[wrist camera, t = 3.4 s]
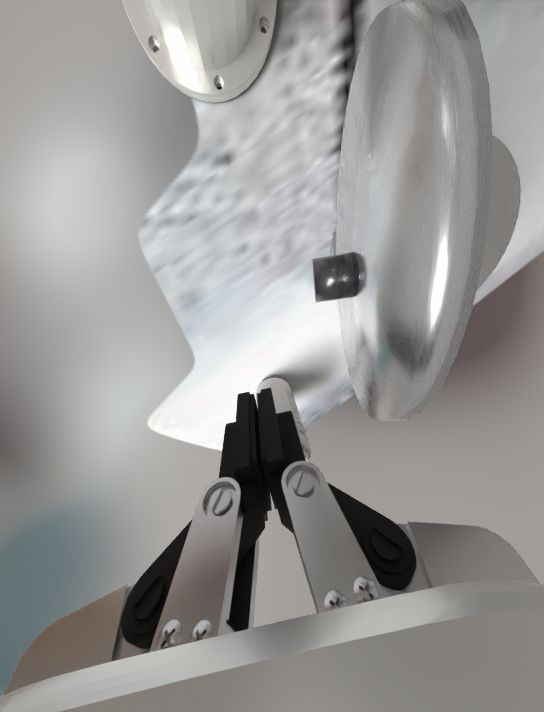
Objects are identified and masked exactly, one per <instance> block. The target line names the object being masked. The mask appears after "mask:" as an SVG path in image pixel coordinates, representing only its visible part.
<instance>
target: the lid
mask: <svg viewBox="0 0 544 712" xmlns="http://www.w3.org/2000/svg"><path fill="white" fill-rule="evenodd" d="M491 167H492V127H491V112H490V97H489V83H488V78H487V74H486V69H485V64H484V59H483V54H482V50H481V45H480V40H479V36H478V34H477V31H476V29H475V27H474V25H473V23H472V20H471V18H470V16H469V14H468V11H467V9H466V7H465V5H464V4H463V3H462V2H461V1H460V0H402V1H400V2H397V3H395V4H392V5H390V6H388V7H387V8H385V9H384V10H382V11H381V12H379V13H378V15H377V16H376V18H375V19H374V21H373V22H372V24H371V26H370V27H369V30H368V32H367V34H366V37H365V39H364V41H363V44H362V47H361V50H360V53H359V56H358V59H357V63H356V66H355V70H354V75H353V79H352V83H351V87H350V93H349V98H348V103H347V109H346V115H345V121H344V128H343V136H342V144H341V153H340V163H339V176H338V191H337V213H336V255H334V256H328V257H323V258H317V259H313V276H314V289H315V299H316V302H322V301H330V300H337V299H338V304H339V315H340V324H341V332H342V339H343V346H344V352H345V357H346V362H347V366H348V371H349V375H350V378H351V382H352V385H353V388H354V391H355V394H356V396H357V398H358V401H359V403H360V404H361V406H362V408H363V410H364V411H365V412H366V414H368V416H370V417H371V418H372V419H375V420H404V419H409V418H411V417H413V416H415V415H416V414H419V413H420V412H421V411H422V410H423V409H424V408H425V407H426V406H427V405H428V404H429V403H430V402H431V401H432V400H433V398H434V397H435V395H436V394H437V392H438V391H439V389H440V388H441V386H442V385H443V383H444V381H445V379H446V377H447V375H448V373H449V371H450V368H451V366H452V364H453V362H454V360H455V358H456V355H457V354H458V351H459V348H460V345H461V342H462V339H463V336H464V333H465V330H466V327H467V324H468V321H469V318H470V315H471V310H472V307H473V302H474V298H475V293H476V289H477V284H478V280H479V276H480V271H481V267H482V261H483V254H484V246H485V239H486V231H487V224H488V216H489V208H490V193H491Z"/></svg>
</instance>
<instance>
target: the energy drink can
mask: <svg viewBox="0 0 544 712" xmlns="http://www.w3.org/2000/svg"><path fill="white" fill-rule="evenodd" d="M270 387H271V390H272V395H273V399H274V404H275V409H276V414H277V413H281V412H286V411H292V414H293V418H294V421H295V424H296V428H297V431H298V435H299V438H300V442H301V445H302V449H303V452H304V456H305V459H306V461H308V462H309V459H310V455H311V448H310V446H309V442H308V439H307V436H306V433H305V430H304V427H303V424H302V421H301V418H300V415H299V412H298V409H297V406H296V403H295V400H294V397H293V394H292V391H291V388H290V385H289V384H288V383H287V382H286V381H285V380H283V379H281V378H276V377H272V378H268V379H266V380H264V381H263V382H261V383H260V384H259V386H258V387H257V390H256V402H257V393H260V392H261V391H260V390H261V389H266V388H270ZM257 408H258V404H257Z"/></svg>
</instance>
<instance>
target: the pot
mask: <svg viewBox="0 0 544 712" xmlns="http://www.w3.org/2000/svg"><path fill="white" fill-rule="evenodd" d="M519 205H520V178H519V174H518V170H517V166H516V164H515V161H514V159H513V156H512V155H511V153H510V152H509V150H508V149H507V147H506V146H505V145H504V144H503V143H502V142H501V141H500V140H499V139H497V138H495V137H494V136H492V167H491V193H490V208H489V216H488V224H487V231H486V239H485V246H484V254H483V261H482V267H481V271H480V276H479V280H478V284H477V289H476V291H477V290H478V289H479V287H480V286H481V285H482V284H483V283H484V282H485V281H486V279H487V278H488V277H489V276H490V274H491V273H492V272H493V270H494V269H495V267H496V266H497V264H498V263H499V261H500V259H501V258H502V256H503V254H504V252H505V250H506V248H507V246H508V244H509V242H510V239H511V237H512V234H513V231H514V228H515V225H516V221H517V217H518V212H519ZM334 255H336V228H335V231H334V232H333V238H332V243H331V254H330V256H334Z"/></svg>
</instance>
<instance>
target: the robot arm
mask: <svg viewBox="0 0 544 712" xmlns="http://www.w3.org/2000/svg"><path fill="white" fill-rule="evenodd" d="M122 2H123V4H124V7H125V10H126V13H127V15H128V18H129V20H130V22H131V24H132V26H133V29H134V31H135V33H136V35H137V37H138V39H139V41H140V42H141V44H142V46H143V48H144V49H145V51H146V53H147V55H148V56H149V58H150V59H151V61H152V62H153V63H154V65H155V66H156V67H157V69H158V70H159V71H160V73H161V74H162V75H163V76H164V77H165V78H166V79H167V80H168V81H169V82H170V83H172V85H174V86H175V87H176V88H178V89H179V90H180V91H182V92H183V93H185V94H186V95H188V96H190V97H193V98H195V99H197V100H200V101H205V102H212V103H215V102H224V101H227V100H230V99H232V98H235V97H237V96H238V95H240V94H241V93H242V92H244V91H245V90H246V89H247V88H248V87H249V86H250V85H251V84H252V82H253V81H254V80H255V79H256V78H257V76H258V74H259V72H260V70H261V69H262V67H263V65H264V63H265V60H266V57H267V54H268V52H269V49H270V46H271V41H272V36H273V31H274V25H275V16H276V7H277V0H122ZM262 32H265V33H262ZM156 50H159V51H158V52H155V51H156ZM219 86H220V87H221V88H222V89H221V90H218V89H217V88H218V87H219ZM260 391H261V392H260V393H257V404H258V408H257V404H256V400H255V397H254V394H251V395H250V393H249V392H246V393H241V394H238V400H237V414H236V422H233V423H228V424H226V427H225V434H224V442H223V450H222V458H221V466H220V473H219V478H218V479H217V480H215V481H213V482H212V483H210V484H209V485H208V486H207V487H206V488H205V490H204V491H203V492H202V495H201V496H200V499H199V501H198V504H197V508H196V510H195V514H194V517H193V519H192V520H191V522H189V524H188V525H187V526H186V527H185V528H184V529H183V530H182V531H181V533H180V534H179V535H178V536H177V537H176V538H175V539H174V540H173V541H172V543H171V544H170V545H169V546H168V547H167V548H166V549H165V550H164V552H163V553H162V554H161V555H160V556H159V557H158V558H157V559H156V560H155V562H154V563H153V564H152V565H151V566H150V567H149V568H148V569H147V571H146V572H145V573H144V574H143V575H142V576H141V577H140V579H139V580H138V581H137V583H136V584H134V585H132V586H130V587H129V586H128V585H126V586H123V587H121V588H119V589H117V590H116V591H113V592H112V593H110V594H108V595H106V596H104V597H102V598H100V599H98V600H96V601H94V602H92V603H90V604H88V605H86V606H84V607H83V608H81V609H79V610H77V611H75V612H73V613H71V614H69V615H67V616H65V617H63V618H61V619H59V620H58V621H56V622H54V623H53V624H51V625H50V626H49V627H47V628H46V629H45V630H44V631H43V632H42V633H41V634H40V635H39V636H38V637H37V638H36V639H35V640H34V641H33V642H32V644H31V645H30V646H29V648H28V649H27V651H26V652H25V654H24V655H23V656H22V658H21V659H20V661H19V663H18V665H17V667H16V669H15V671H14V672H13V674H12V677H11V679H10V681H9V683H8V686H7V688H6V690H5V693H4V695H3V696H1V697H0V712H544V585H542V584H540V583H539V582H538V580H537V579H536V577H535V576H534V575H533V573H532V572H531V570H530V569H529V568H528V566H527V565H526V563H525V562H524V560H523V559H522V558H521V556H520V555H519V554H518V553H517V552H516V550H515V549H514V548H513V547H512V546H511V545H510V544H509V543H508V542H507V541H505V540H504V539H503V538H502V537H500V536H499V535H497V534H496V533H494V532H492V531H490V530H488V529H486V528H481V527H478V526H468V525H452V524H437V523H421V522H408V523H407V524H395V523H394V522H393V521H391V520H390V519H388V518H386V517H385V516H383V515H381V514H380V513H378V512H376V511H375V510H373V509H371V508H369V507H368V506H366V505H364V504H363V503H361V502H359V501H358V500H356V499H354V498H353V497H351V496H349V495H348V494H346V493H344V492H342V491H341V490H339V489H337V488H336V487H334V486H332V485H331V484H329V483H327V482H326V480H325V478H324V476H323V474H322V472H321V471H320V470H319V468H318V467H317V466H315V465H314V464H313V463H310V462H308V461H306V459H305V456H304V452H303V449H302V445H301V442H300V438H299V435H298V431H297V428H296V424H295V421H294V418H293V414H292V411H286V412H281V413H277V414H276V409H275V404H274V399H273V395H272V390H271V387H270V388H266V389H261V390H260ZM270 493H271V496H272V499H273V502H274V506H275V509H278V512H279V516H280V519H281V523H282V524H283V525H284V526H285V527H286V528H288V529H289V530H290V531H291V532H292V533H293V534H294V538H295V541H296V544H297V548H298V551H299V554H300V558H301V561H302V565H303V568H304V572H305V575H306V578H307V582H308V585H309V588H310V592H311V595H312V599H313V602H314V605H315V609H316V612H317V613H316V614H312V615H308V616H303V617H299V618H294V619H290V620H286V621H281V622H277V623H273V624H269V625H265V626H260V627H256V628H253V623H254V609H255V595H256V581H257V567H258V554H259V536H260V535H261V533H262V531H263V530H264V528H265V521H267V520H268V518H267V511H270V510H271V497H270Z"/></svg>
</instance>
